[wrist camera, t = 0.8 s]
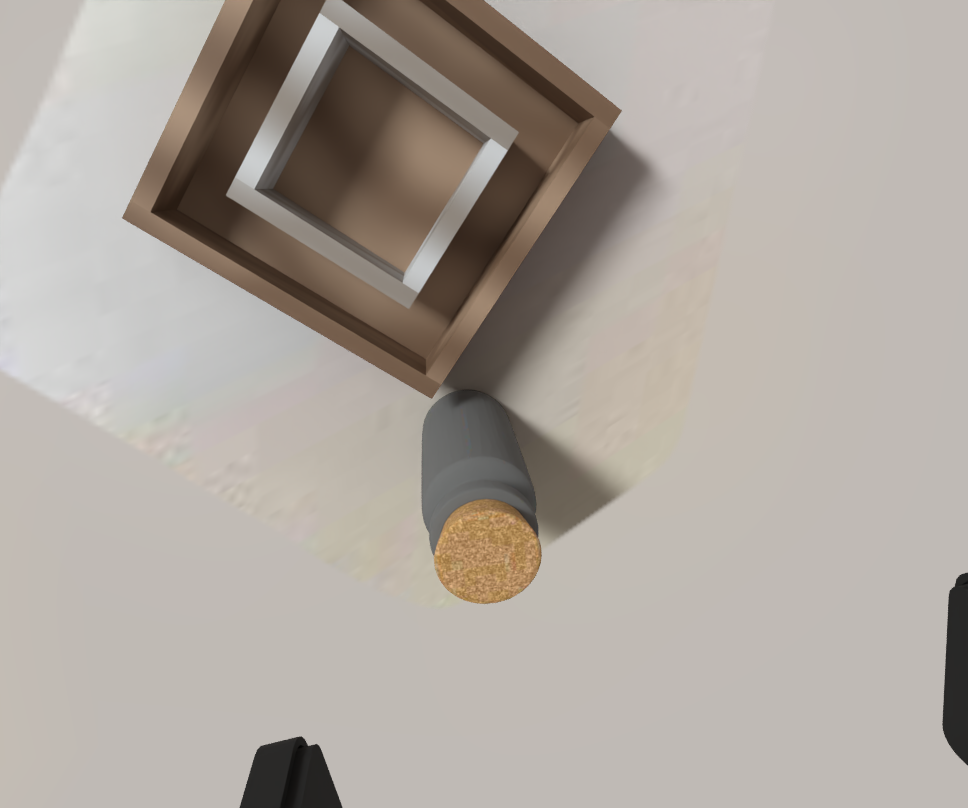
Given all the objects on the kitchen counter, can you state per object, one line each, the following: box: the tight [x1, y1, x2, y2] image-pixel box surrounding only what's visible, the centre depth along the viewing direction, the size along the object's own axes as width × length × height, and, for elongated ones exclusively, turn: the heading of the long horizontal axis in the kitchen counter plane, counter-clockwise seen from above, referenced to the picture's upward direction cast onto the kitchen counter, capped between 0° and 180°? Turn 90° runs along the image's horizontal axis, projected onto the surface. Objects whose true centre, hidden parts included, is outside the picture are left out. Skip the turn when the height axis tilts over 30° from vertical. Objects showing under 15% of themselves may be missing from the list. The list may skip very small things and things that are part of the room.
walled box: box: [122, 0, 622, 399], centre depth 33 cm, size 18×18×5 cm
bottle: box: [422, 390, 542, 604], centre depth 34 cm, size 6×6×15 cm
